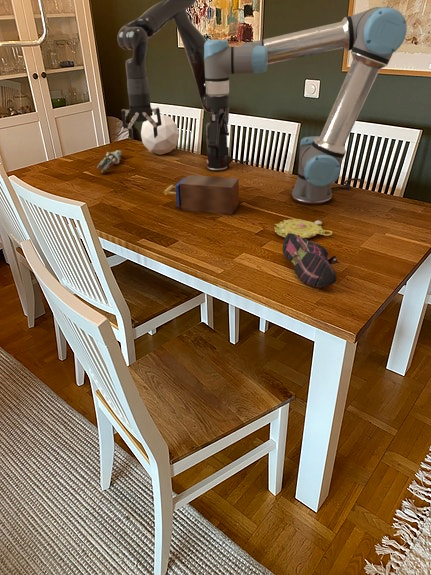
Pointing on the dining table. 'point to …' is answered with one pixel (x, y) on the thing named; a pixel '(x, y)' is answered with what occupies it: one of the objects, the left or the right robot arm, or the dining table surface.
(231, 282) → the dining table surface
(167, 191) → the drawer
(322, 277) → the athletic shoe
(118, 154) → the figurine
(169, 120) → the sphere
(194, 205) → the cabinet
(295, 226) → the decorative object
